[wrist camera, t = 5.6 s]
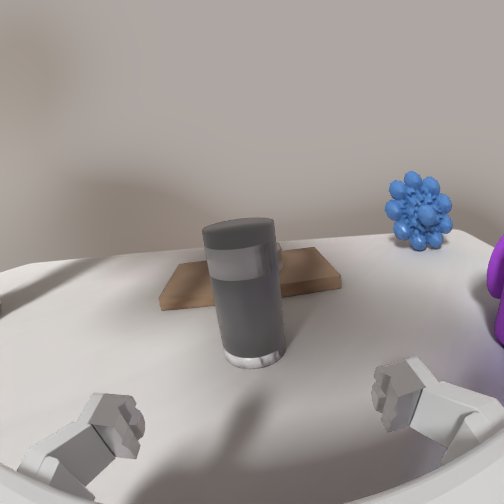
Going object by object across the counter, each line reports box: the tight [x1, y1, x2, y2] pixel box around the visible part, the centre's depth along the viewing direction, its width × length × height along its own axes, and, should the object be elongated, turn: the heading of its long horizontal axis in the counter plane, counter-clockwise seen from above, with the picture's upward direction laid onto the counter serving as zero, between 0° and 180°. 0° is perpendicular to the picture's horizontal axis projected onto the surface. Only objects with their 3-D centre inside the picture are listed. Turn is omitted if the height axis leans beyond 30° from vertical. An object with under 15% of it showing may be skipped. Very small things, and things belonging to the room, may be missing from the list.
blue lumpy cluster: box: [385, 171, 453, 251], centre depth 36 cm, size 12×7×12 cm, turn 78°
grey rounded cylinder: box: [202, 218, 285, 369], centre depth 20 cm, size 5×5×10 cm
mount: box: [159, 243, 341, 310], centre depth 36 cm, size 20×12×4 cm, turn 92°
